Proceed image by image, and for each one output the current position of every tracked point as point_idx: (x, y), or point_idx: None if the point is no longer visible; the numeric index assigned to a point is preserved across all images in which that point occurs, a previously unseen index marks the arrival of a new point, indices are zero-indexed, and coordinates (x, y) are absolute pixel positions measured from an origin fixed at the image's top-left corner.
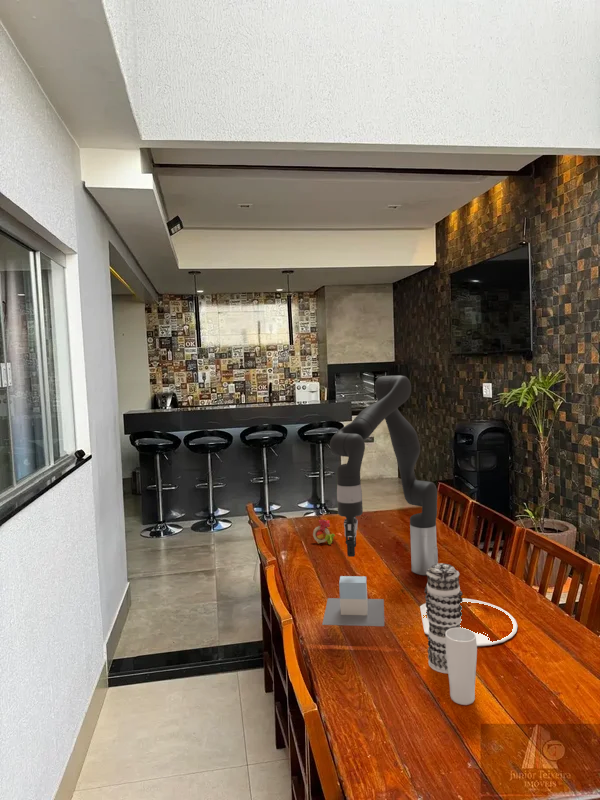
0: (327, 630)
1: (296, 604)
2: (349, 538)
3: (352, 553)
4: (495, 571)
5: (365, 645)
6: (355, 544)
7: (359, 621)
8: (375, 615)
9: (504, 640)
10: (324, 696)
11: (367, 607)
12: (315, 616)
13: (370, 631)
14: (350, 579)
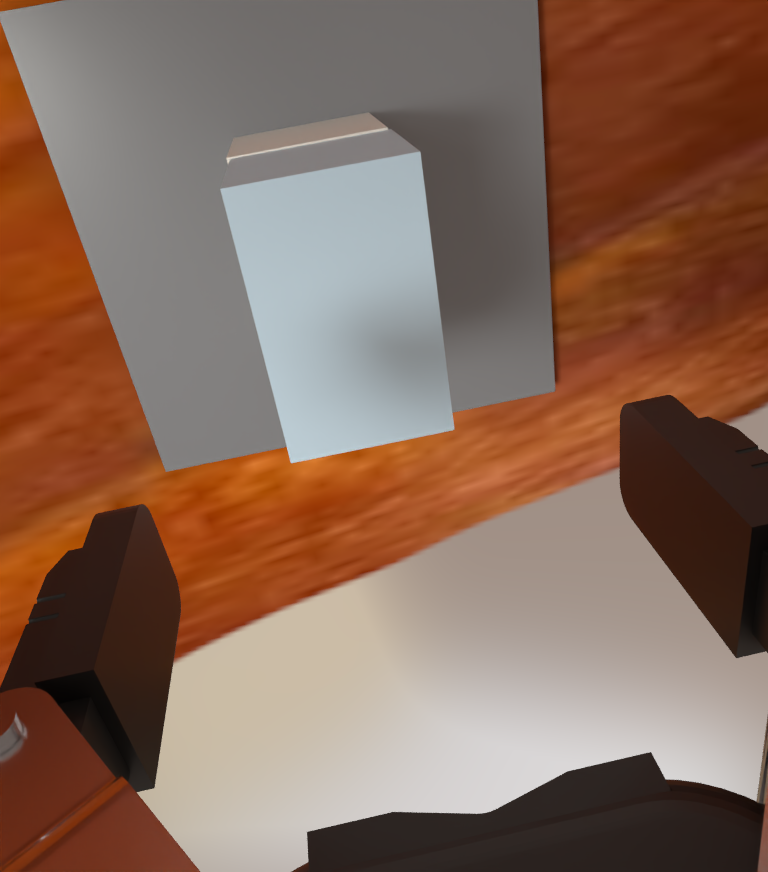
0: (574, 344)
1: (278, 606)
2: (156, 712)
3: (739, 445)
4: None
5: (758, 42)
6: (139, 530)
7: (479, 155)
8: (355, 38)
9: None
10: None
11: (274, 132)
12: (407, 463)
13: (562, 43)
14: (355, 346)
